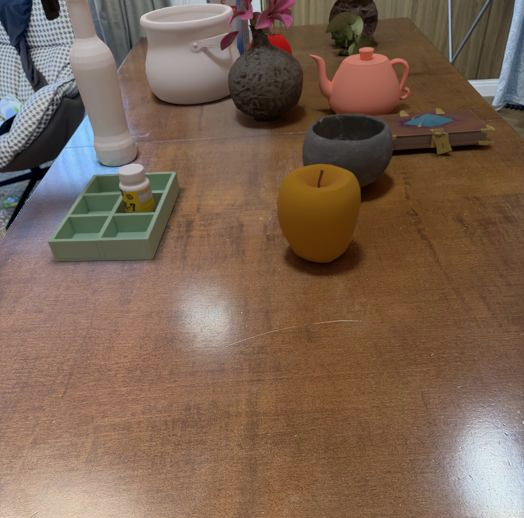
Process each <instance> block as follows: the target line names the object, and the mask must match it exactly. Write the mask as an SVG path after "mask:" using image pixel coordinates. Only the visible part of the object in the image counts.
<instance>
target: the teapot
mask: <svg viewBox="0 0 524 518" xmlns="http://www.w3.org/2000/svg"><path fill="white" fill-rule="evenodd" d="M374 52H375V47H364V48H361V49H359V54H356V55H351V56H347V57H345V58H344V59H343V60H342V62H341V63H340V65H339V67H338V68H337V70H336V72H335V73H334V76H333V78H332V80H331V81H330V80H329V79H328V77H327V68H326V67H327V66H326V62H325V60H324V58H323V57H322V56H319V55H316V54H310V53H309V54H308V55H309V56H310V57H311V58H312V60H314V61H315V63H316V67H317V78H318V79H317V80H318V88H319V91H320V93H321V95H322V96H323V97H324V98H325V99H326V100H327V102H328V105H329V107H330V109H332V110H333V112H334V113H335V115H337V114H363V115H369V116H375V115H389V114H390V113H392V111H393V110H394V109H395V108H396V107H397V105H398V104H399V103H400V102H399V101H404V100H407V99H409V97H410V94H411V90H410V88H409V87H408V86H405V85H406V82H407V79H408V76H409V74H410V67H409V63H408V62H407V61H406V60H405V59H403V58H401V57H400V58H399V57H395V58H393V59H391V60H390V59H389V58H388V56H386V55H384V54H380V53H374ZM394 65H402V66H403V69H404V70H403V75H402V78H401V80H400V83H399V79H398V75H397V74H396V71H395V68H394ZM404 91H405V92H406V93H404V94H403V92H404Z"/></svg>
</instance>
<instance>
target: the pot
mask: <svg viewBox="0 0 524 518" xmlns="http://www.w3.org/2000/svg"><path fill="white" fill-rule="evenodd" d="M232 15H233V10H232V8H231V7H229V6H227V5H222V4H207V3H189V4H180V5H179V4H178V5H173V6H167V7H162V8H157V9H154V10H151V11H149V12H146V13H144V14H143V15H141V16H140V18H139V24H140V26H141V28H142V29H143V30H144V31H145V34H146V40H147V51H146V57H145V75H146V79H147V83H148V85H149V87H150V91H152V93H153V94H154V95H155V96H156V97H157V98H158V99H159V100H161V101H163V102H166V103H170V104H175V105H198V104H199V105H200V104H206V103H211V102H215V101H219V100H221V99H224V98H226V97H228V96H230V91H229V85H228V74H229V71H230V69H231V67H232V65H233V64H234V62H235V61H236V60H237V58H239V57H240V53H239V50H238V48H237V46H236V44H235V42H234V41H233V43H232V44H231V45H230V46H229V47H227V48H226V49H224V50H223V51H221V47H220V42H221V40H222V39H223V38H224V37H225V36H226V35H227V34H229V33H231V29H230V25H229V26H228V24H227V20H228V18H229V17H230V16H232Z"/></svg>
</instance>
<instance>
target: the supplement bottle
mask: <svg viewBox="0 0 524 518" xmlns="http://www.w3.org/2000/svg"><path fill="white" fill-rule="evenodd" d="M145 173H146V170H145V167H144V166H143V165H142V164H140V163H127V164H124V165H121V166H120V167H119V168H118V169H117V174H118V175H119V179H120V183H119V188H120V191H121V195H122V199H123V202H124V206H125V210H126V213H146V212H155V211H156V208H155V203H154V199H153V195H152V190H151V186H150V182H149V179H148V178H147V177H145V176H146V175H145Z"/></svg>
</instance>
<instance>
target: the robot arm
mask: <svg viewBox="0 0 524 518" xmlns="http://www.w3.org/2000/svg"><path fill="white" fill-rule="evenodd" d="M40 3H41V6H42V10H43V13H44V17H45V19H46V20H47V21H48V22H51V21H53V22H54V21H55V20H57V18H59V17H60V14H61V13H60V11H61V4H60V1H59V0H40Z"/></svg>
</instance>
